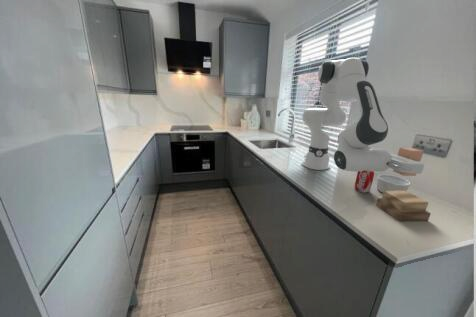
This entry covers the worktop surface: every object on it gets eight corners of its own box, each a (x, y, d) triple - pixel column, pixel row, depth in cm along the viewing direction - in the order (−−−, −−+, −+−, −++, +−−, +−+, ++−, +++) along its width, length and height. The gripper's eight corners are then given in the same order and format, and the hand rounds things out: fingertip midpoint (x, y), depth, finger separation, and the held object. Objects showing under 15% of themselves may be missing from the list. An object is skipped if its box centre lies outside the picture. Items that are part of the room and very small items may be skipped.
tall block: (392, 171, 80) (399, 147, 77) (404, 171, 80) (411, 147, 77) (403, 175, 75) (411, 150, 72) (415, 175, 76) (423, 151, 73)
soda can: (372, 194, 96) (378, 171, 93) (356, 192, 97) (362, 170, 94) (366, 188, 103) (371, 166, 99) (351, 186, 104) (356, 165, 100)
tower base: (375, 206, 86) (378, 198, 85) (400, 205, 87) (403, 197, 86) (399, 222, 75) (402, 213, 74) (427, 222, 76) (430, 213, 75)
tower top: (381, 199, 84) (383, 190, 83) (402, 198, 85) (404, 190, 84) (402, 211, 75) (405, 202, 74) (425, 211, 76) (428, 202, 75)
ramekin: (407, 201, 91) (412, 187, 89) (374, 192, 98) (377, 180, 96) (404, 190, 101) (408, 178, 99) (374, 184, 108) (377, 172, 106)
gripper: (404, 160, 64) (441, 160, 65) (361, 145, 83) (390, 146, 85) (398, 178, 66) (435, 178, 67) (358, 159, 85) (387, 160, 87)
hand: (410, 160), depth 76 cm, fingers closed on tall block, 5 cm apart
